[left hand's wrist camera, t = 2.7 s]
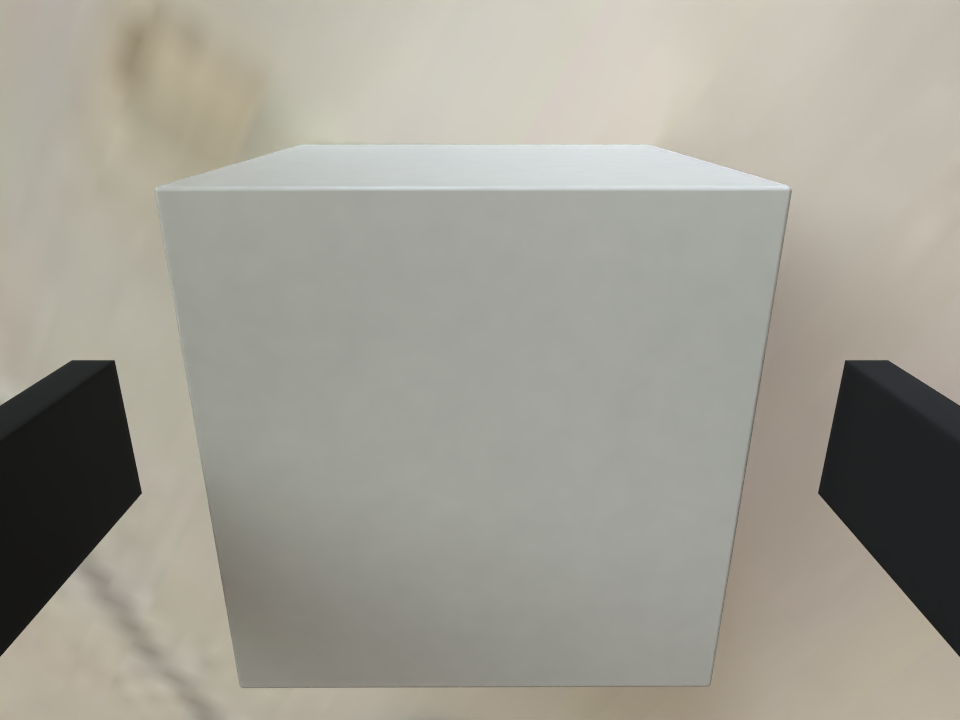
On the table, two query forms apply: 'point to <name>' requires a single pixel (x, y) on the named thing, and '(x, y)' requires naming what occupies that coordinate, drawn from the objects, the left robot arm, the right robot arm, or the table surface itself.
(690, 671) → the white box
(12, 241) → the table surface
